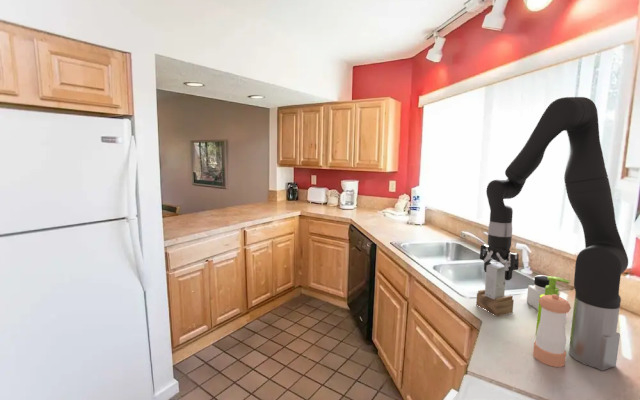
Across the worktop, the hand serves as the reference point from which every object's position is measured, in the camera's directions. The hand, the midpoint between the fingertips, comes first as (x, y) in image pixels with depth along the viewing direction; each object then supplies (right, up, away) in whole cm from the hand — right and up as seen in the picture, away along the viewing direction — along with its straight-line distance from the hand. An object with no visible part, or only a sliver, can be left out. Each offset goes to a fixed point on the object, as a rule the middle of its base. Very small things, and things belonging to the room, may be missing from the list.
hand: (497, 275), depth 113 cm
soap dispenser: (+7, -16, -17) cm, 24 cm away
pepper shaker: (-1, -17, -27) cm, 32 cm away
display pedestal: (0, -13, +2) cm, 13 cm away
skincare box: (0, -8, +1) cm, 8 cm away
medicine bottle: (+19, -13, +4) cm, 24 cm away
